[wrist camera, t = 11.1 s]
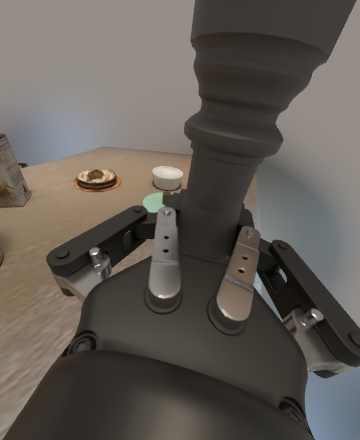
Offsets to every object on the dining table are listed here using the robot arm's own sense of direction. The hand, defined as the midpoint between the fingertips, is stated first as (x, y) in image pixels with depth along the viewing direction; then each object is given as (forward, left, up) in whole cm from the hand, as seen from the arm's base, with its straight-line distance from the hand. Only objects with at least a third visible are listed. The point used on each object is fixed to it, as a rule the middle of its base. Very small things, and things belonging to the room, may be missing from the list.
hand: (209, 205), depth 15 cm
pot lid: (-24, +22, -20) cm, 38 cm away
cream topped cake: (-50, +15, -21) cm, 56 cm away
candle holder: (+1, -3, -13) cm, 13 cm away
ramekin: (-34, +33, -21) cm, 51 cm away
